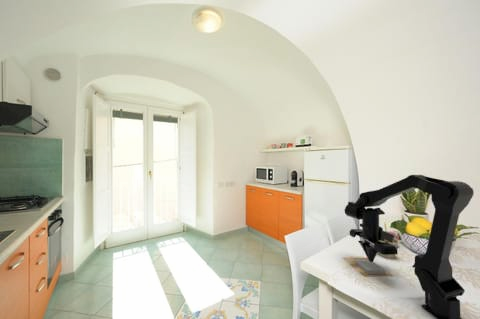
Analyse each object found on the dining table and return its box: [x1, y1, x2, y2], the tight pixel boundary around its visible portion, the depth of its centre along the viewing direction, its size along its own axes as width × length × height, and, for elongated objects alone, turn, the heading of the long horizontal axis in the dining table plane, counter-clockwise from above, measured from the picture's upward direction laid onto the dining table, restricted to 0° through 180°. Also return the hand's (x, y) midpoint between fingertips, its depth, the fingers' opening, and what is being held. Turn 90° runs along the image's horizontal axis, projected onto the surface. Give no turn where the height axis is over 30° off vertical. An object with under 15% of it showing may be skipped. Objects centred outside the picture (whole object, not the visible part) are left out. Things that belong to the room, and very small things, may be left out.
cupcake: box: [383, 221, 400, 241], centre depth 101 cm, size 9×8×12 cm
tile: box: [356, 261, 386, 274], centre depth 75 cm, size 2×7×7 cm
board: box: [342, 257, 394, 278], centre depth 77 cm, size 14×12×1 cm
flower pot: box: [377, 239, 400, 259], centre depth 87 cm, size 9×9×9 cm
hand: (371, 261), depth 74 cm, fingers closed
